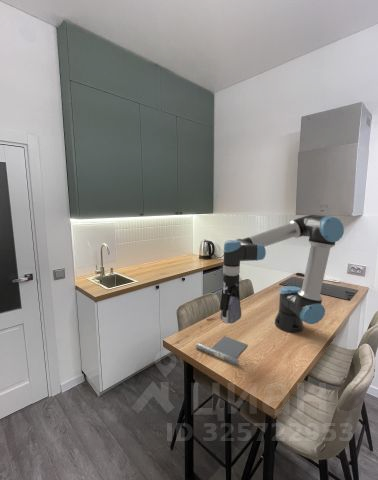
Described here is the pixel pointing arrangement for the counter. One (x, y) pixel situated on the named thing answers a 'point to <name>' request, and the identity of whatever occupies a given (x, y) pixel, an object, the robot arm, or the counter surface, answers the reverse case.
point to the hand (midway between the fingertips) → (229, 318)
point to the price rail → (217, 354)
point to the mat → (229, 347)
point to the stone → (233, 310)
